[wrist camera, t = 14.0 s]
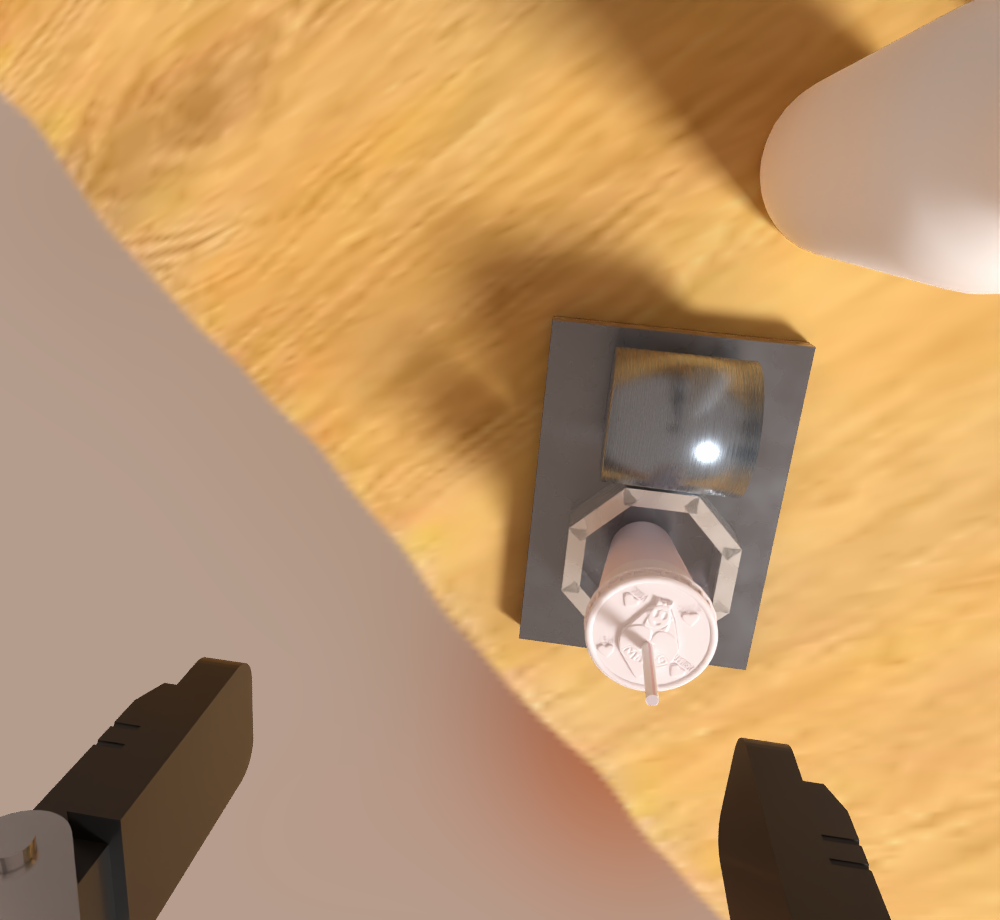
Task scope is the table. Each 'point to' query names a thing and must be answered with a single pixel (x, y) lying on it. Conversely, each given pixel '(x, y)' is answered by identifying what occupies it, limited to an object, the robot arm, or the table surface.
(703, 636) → the smoothie
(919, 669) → the table surface
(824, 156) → the alcohol
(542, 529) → the flat grey tray
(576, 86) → the table surface
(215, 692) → the robot arm
